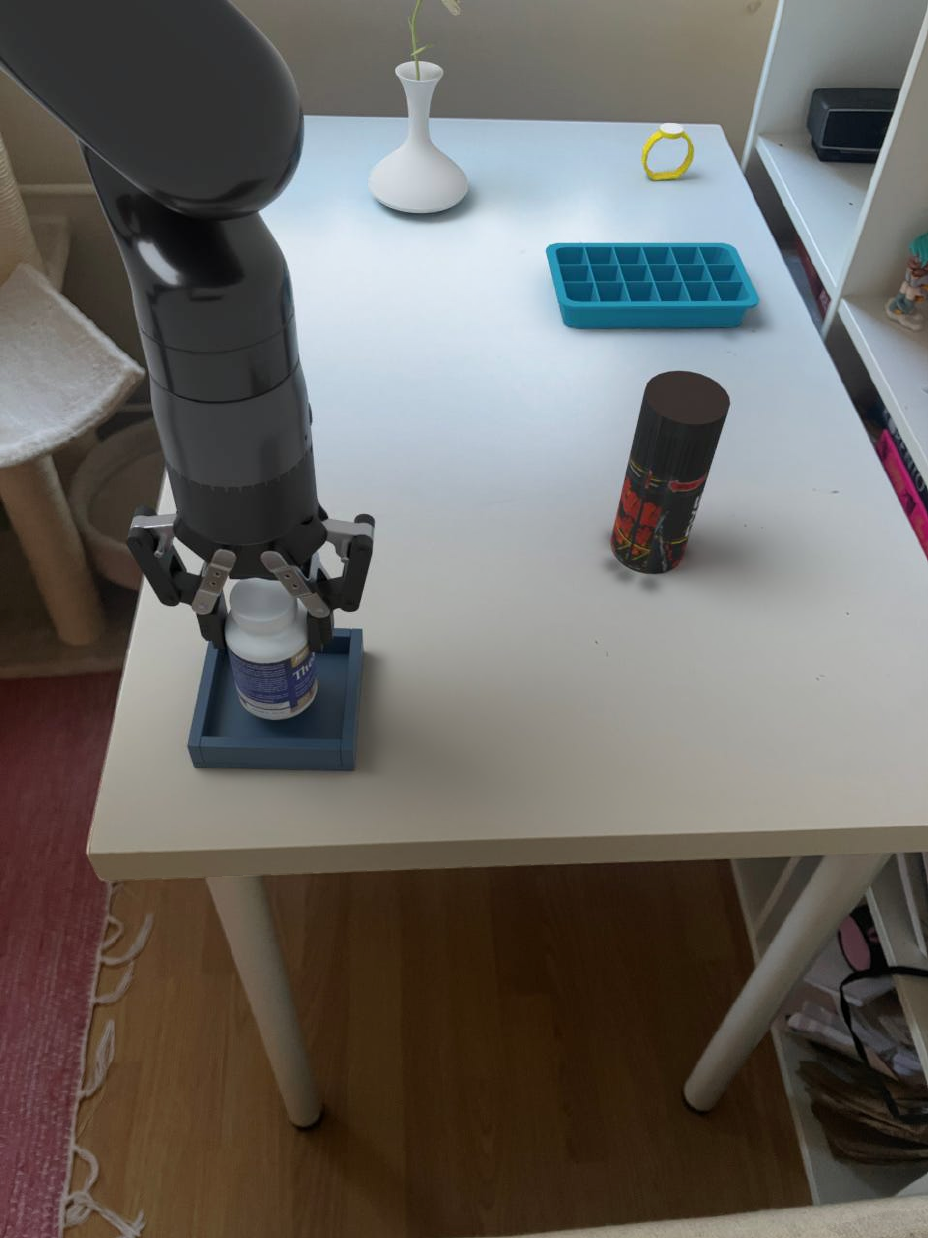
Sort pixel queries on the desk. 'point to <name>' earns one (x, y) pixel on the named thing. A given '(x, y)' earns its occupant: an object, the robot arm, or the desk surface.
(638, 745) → the desk surface
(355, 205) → the desk surface
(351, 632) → the tray
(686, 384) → the deodorant
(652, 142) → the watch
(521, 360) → the desk surface
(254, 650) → the pill bottle
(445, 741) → the desk surface
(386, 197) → the flower in vase
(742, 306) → the ice cube tray
